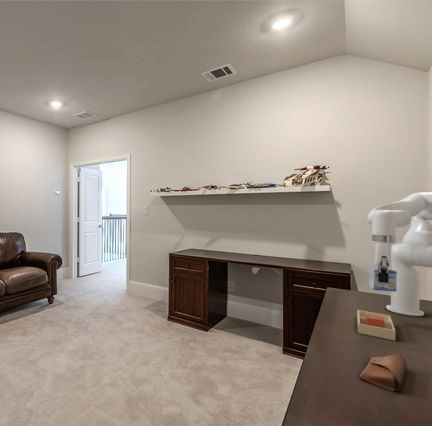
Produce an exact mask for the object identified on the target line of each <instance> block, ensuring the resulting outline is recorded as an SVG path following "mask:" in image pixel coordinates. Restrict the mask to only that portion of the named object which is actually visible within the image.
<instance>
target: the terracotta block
mask: <svg viewBox="0 0 432 426" xmlns="http://www.w3.org/2000/svg"><path fill="white" fill-rule="evenodd" d="M366 325H370V326H375V327H380V328H384V326H385V320H384V317H380V316H374V315H369V314H367V316H366Z"/></svg>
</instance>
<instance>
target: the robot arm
mask: <svg viewBox="0 0 432 426" xmlns="http://www.w3.org/2000/svg"><path fill="white" fill-rule="evenodd" d="M366 218H367V222H368V224H369V225H371V243H374V248H373V251H374V252H373V264H374V265H375V266H376V267H377V269H379V273H378V282H382V283H388V281H389V274H388V270H389V268H391V269H390V270H394V271H396V272H397V286H396V292H394V291H390V304H387V305H385V309H386V310H387V311H389V312H392V313H396V314H399V315H403V316H409V317H423V316H425V312H424V311H423V310H421V309H420V297H421V275H420V273H419V271H418V269H417V268H416V267H422V268H429V269H430V268H431V269H432V223H430V222H429V221H432V191H424V192H423V191H420V192H419V191H418V192H413V193H411V194H409V195H407V196H406V197H404V198H403V199H401V200H397V201H393V202H389V203H385V204H380V205H378V206H376V207H374V208H372V209H371V210H370V211H369V212H368V214H367V217H366ZM409 225H410V228H409V229H408V230H407V232H406V233H405V234H404V236H403V238H402V241H401V243H396V235H397V234H396V232H397V231H396V230H397V228H406V227H408V226H409Z"/></svg>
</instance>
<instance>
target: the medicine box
mask: <svg viewBox="0 0 432 426" xmlns="http://www.w3.org/2000/svg"><path fill="white" fill-rule="evenodd" d="M378 273H379V269H378V268H369V274H368V275H369V283H368V284H369V285H368V286H369V288H371V289H372V290H374V291H383V292H391V291H394V292H396V286H397V272H396V271H394V270H391V269H388V274H389V281H388V283H382V282H378Z"/></svg>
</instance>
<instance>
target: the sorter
mask: <svg viewBox="0 0 432 426" xmlns="http://www.w3.org/2000/svg"><path fill="white" fill-rule="evenodd" d="M356 311H357V314H356V315H357V316H356V319H357V320H356V322H357V333H358V334H361V335H367V336H371V337H375V338H381V339H384V340H385V339H386V340H390V341H394V342H395V341H396V329H395V328H396V327H395V326H394V323H393V320H392V317H391V315H390V314H385V313H378V312H371V311H365V310H360V309H356ZM367 314H369V315H374V316H380V317H384V320H385V326H384V328H380V327H375V326H370V325H366V316H367Z"/></svg>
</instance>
